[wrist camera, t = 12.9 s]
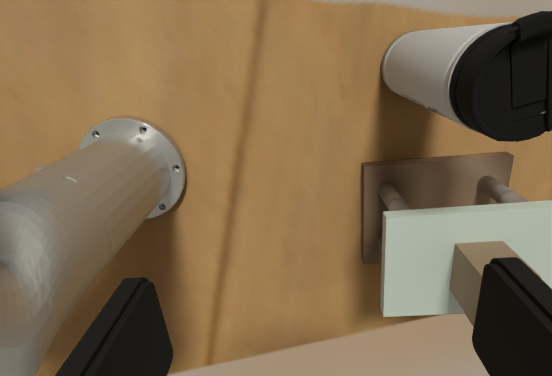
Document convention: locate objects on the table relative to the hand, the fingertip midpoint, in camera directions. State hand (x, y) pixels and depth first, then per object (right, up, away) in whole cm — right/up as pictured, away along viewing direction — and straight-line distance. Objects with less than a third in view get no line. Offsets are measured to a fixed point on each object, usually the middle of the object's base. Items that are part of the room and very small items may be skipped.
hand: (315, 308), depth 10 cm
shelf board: (+17, -3, +22) cm, 28 cm away
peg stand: (+17, +1, +32) cm, 36 cm away
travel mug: (+13, +16, +26) cm, 33 cm away
